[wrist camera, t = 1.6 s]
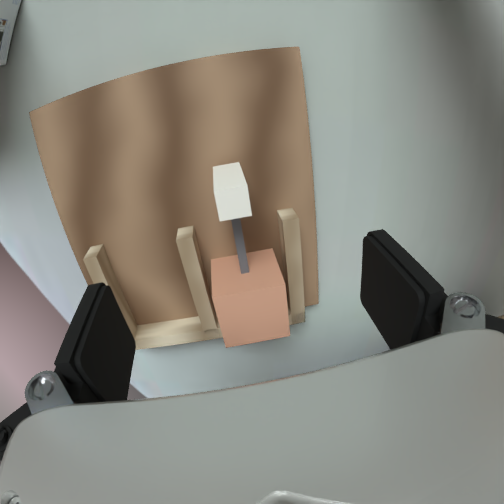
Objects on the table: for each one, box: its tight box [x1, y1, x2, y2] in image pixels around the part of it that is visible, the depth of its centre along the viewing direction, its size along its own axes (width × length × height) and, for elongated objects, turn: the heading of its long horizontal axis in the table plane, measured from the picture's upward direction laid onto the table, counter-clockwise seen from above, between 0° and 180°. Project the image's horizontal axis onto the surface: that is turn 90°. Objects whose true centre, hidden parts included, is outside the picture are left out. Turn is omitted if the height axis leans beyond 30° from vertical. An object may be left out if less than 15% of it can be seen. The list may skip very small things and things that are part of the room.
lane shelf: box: [29, 47, 318, 350], centre depth 23 cm, size 20×22×4 cm
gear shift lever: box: [211, 162, 290, 348], centre depth 23 cm, size 5×13×6 cm, turn 8°
